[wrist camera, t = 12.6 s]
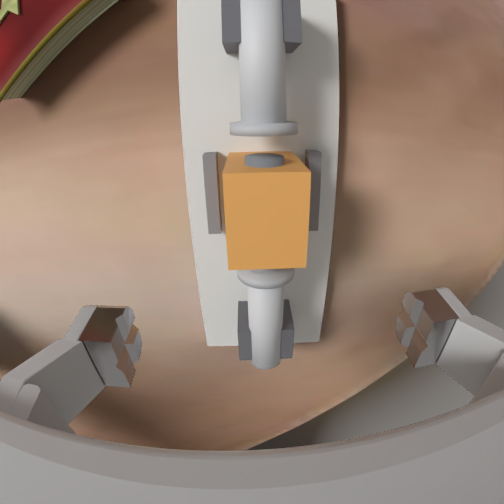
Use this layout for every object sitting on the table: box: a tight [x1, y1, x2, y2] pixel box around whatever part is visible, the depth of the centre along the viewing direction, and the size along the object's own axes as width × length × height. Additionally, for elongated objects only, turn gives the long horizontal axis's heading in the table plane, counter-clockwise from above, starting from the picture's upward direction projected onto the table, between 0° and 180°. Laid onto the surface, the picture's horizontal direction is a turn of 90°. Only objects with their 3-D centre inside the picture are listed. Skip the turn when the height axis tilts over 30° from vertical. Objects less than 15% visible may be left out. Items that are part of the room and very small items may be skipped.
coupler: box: [222, 151, 311, 270], centre depth 17 cm, size 6×4×6 cm
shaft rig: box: [177, 0, 339, 369], centre depth 18 cm, size 28×10×6 cm, turn 1°
